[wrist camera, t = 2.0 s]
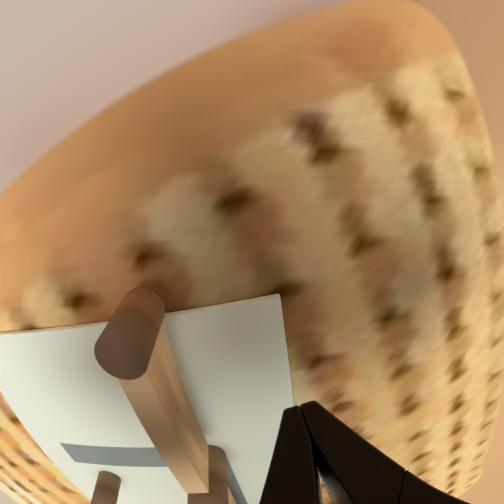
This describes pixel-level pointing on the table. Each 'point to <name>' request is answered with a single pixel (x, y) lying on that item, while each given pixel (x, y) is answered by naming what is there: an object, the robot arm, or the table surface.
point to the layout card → (123, 415)
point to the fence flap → (155, 385)
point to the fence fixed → (217, 500)
